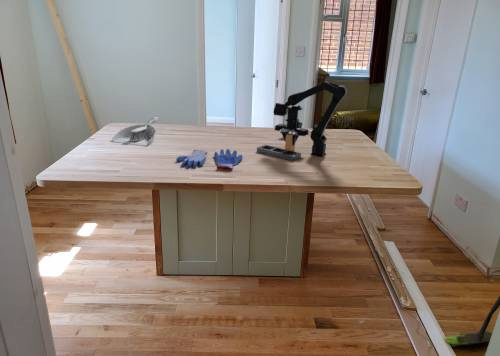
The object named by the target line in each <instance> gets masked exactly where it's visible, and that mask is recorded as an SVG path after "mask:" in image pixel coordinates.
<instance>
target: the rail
mask: <svg viewBox="0 0 500 356" xmlns="http://www.w3.org/2000/svg"><path fill="white" fill-rule="evenodd" d="M256 152H257V153H259V154H260V153H261V154H263V155H267V156H271V157H275V158H279V159H282V160H286V161H290V162H295V161H297V160H299V159H301V157H302V156H301V155H302V153H301V152H297V151H295V150H293V151H290V150H286V149H285V148H281V147H277V146H274V145H273V146H272V145H269V144H263V145H260V146H258V147H256Z"/></svg>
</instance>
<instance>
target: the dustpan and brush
mask: <svg viewBox="0 0 500 356" xmlns="http://www.w3.org/2000/svg"><path fill="white" fill-rule="evenodd" d="M158 119H159V117H158V116H154V117H151V118H150V119H149V120H148V121H146V122H145V123H142V124H140V123H139V124H133V125H129V126H128V127H125V128H122V129H121V130H120V131H118V132H116V133H115V134H114V135H113V137H112V143H115V144H123V145H129V146H130V145H132V146H139V147H148V146H149V145H151V144H153V142H154V141H155V137H156V136H155V135H156V133H157V129H156V127H155V126H154V125H153V124H155V123H156V122H157V120H158ZM128 138H129V141H127V139H128ZM148 138H150V139H149V140H148V141H147V142H140V141H146V140H147V139H148Z"/></svg>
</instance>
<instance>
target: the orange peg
mask: <svg viewBox="0 0 500 356" xmlns="http://www.w3.org/2000/svg"><path fill="white" fill-rule="evenodd" d="M284 142H285V141H284ZM284 144H285V145H284V149H286V150H290V151H295V149H296V144H295V145H294V146H293V134H291V133H289V134H286V142H285V143H284Z"/></svg>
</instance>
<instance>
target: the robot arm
mask: <svg viewBox="0 0 500 356" xmlns="http://www.w3.org/2000/svg"><path fill="white" fill-rule="evenodd" d="M324 90H325V91H327V92H328V93H331V94H332V96H331V97H332V98H331V100H330V103H329V105H328V107H327V108H326V111H324V114H323V116H322V118H321V119H320V122H319V123H318V124H314V126H313V127H312V130H311V131H309V130H308V129H307V128H302V127H303V122H300V120H299V111H301V110H303V107H302V106H301V105H297V104H299V103H301V102H302V101H303V100H304V101H305V99H307V98H310V97H311V96H314V95H316V94H319V93H321V92H323V91H324ZM347 94H348V88H347V86H346V85H344V84H340V85H339V84H336V83H334V82H329V81H328V80H327V81H326V80H325V81H323V82H321V83H319V84H317V85H315V86H313V87H311V88H308V89H307V90H304V91H299V92H295V93H292V94H291V95H289V96H287V100H286V102H284V103H280V102H276V103H275V104H274V108H273V115H274V116H278V117H287V118H286V119H285V122H286V123H287V126H286V125H284V124H283V123H278V124H276V125H275V126H274V131H276V132H279V133H280V134H281V135H282V138H283V137H284V138H283V139H284V142H286V134H289V132H290V131H291V132H294V133H295V134H293V146H294V145H295V146H296V143H297V141H298V139H299V137H305V136H308V135H309V134H310V140H311V141H312V143H313V144H312V145H311V146H312V147H311V152H310V154H311V155H313V156H317V157H319V158H320V157H324V156H325V155H327V153H326V148H327V144H326V142H327V140H328V139H327V137H326V136H325V131H326V127H327V126H328V123H329V122H330V120H331V118H332V116H333V114H334V113H335V110H336V109H337V107H338V105H339V104H340V102H342V100H343V99H344V98H345V96H347ZM286 115H287V116H286ZM309 132H310V133H309Z"/></svg>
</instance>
